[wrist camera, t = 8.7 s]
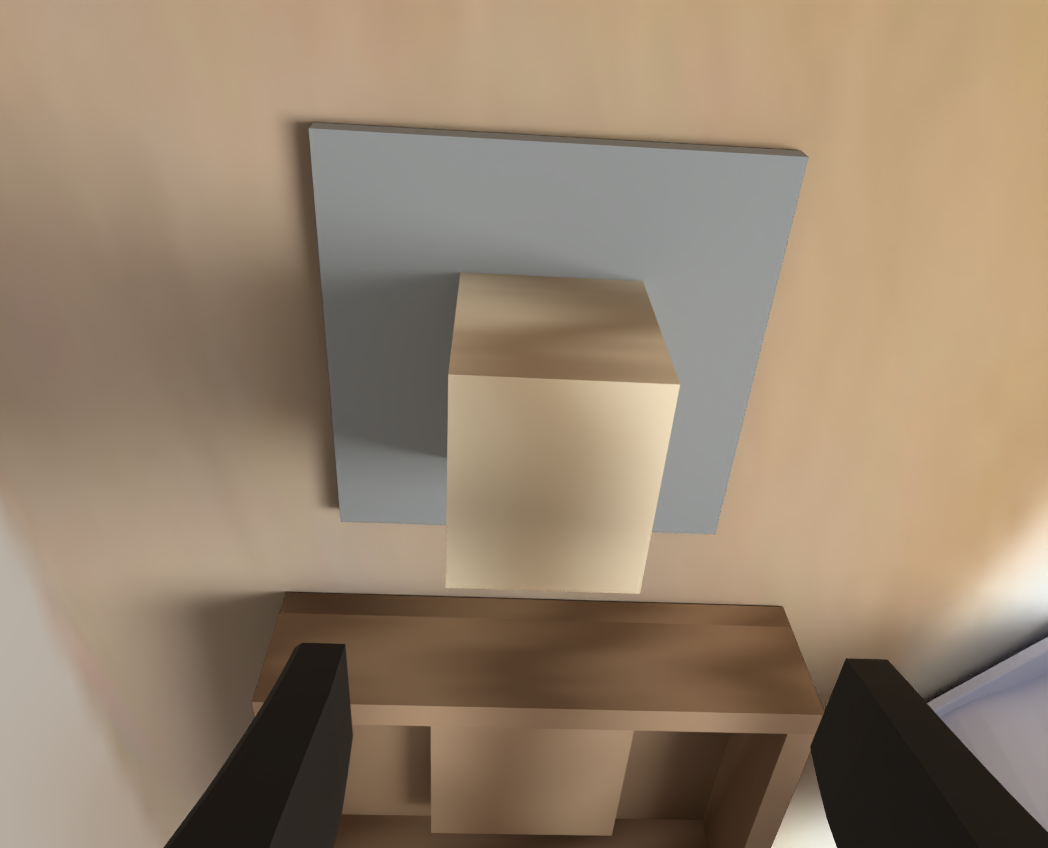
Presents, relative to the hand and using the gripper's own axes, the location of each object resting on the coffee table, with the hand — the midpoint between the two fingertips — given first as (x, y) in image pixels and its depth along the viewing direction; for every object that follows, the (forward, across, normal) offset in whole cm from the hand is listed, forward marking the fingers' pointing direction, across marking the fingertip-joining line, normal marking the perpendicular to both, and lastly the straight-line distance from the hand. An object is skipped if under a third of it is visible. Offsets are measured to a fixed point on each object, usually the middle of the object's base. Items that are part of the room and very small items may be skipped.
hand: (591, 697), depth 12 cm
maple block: (+9, 0, 0) cm, 9 cm away
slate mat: (+9, 0, -1) cm, 9 cm away
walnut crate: (+9, 0, +13) cm, 16 cm away
